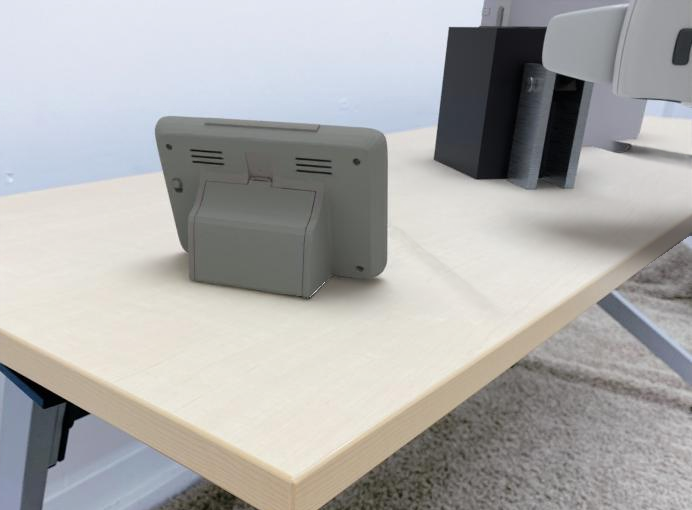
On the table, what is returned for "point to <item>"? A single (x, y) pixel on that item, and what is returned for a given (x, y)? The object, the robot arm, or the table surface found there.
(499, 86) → the toaster
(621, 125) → the game console
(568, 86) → the toaster lever
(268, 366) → the table surface
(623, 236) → the table surface
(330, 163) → the digital clock
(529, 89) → the lever bracket
